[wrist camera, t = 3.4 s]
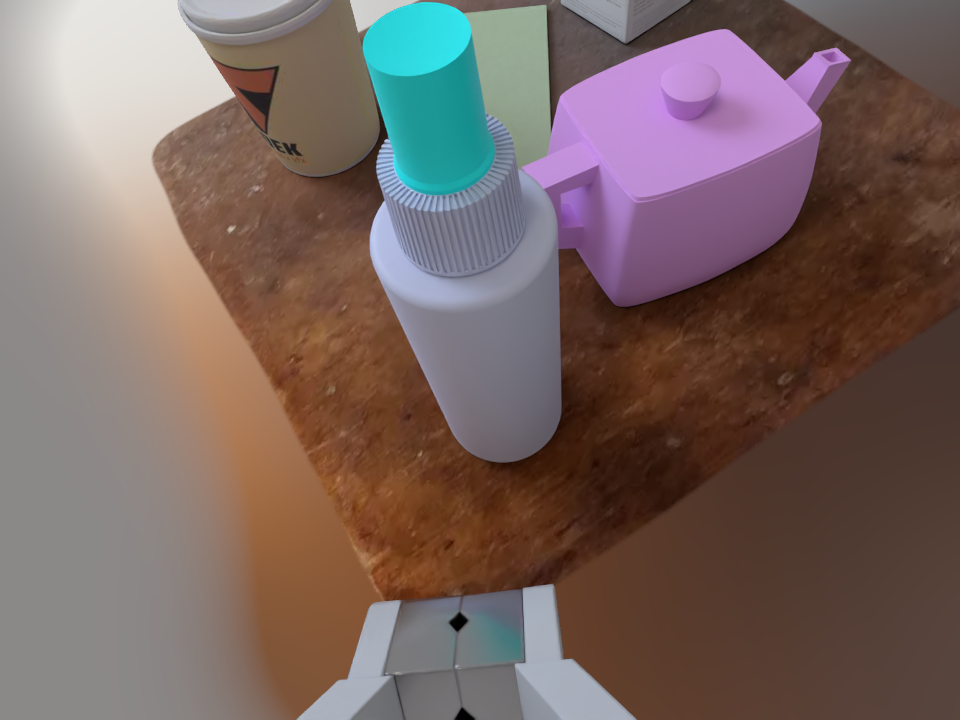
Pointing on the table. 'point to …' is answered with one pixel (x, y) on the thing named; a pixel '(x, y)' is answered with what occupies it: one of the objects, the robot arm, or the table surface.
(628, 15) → the white packaging box
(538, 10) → the mat
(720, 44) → the teapot
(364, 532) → the table surface
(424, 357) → the spray bottle
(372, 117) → the coffee cup
